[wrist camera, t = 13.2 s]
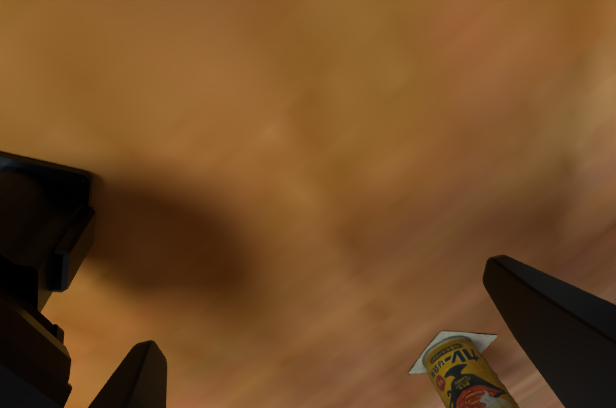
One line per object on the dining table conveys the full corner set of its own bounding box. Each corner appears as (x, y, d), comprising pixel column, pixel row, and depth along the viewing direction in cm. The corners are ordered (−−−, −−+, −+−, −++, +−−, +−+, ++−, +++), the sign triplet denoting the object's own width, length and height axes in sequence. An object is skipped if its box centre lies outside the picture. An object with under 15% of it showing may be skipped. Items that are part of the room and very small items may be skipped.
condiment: (439, 329, 34) (525, 465, 24) (497, 333, 37) (595, 456, 27) (406, 371, 38) (471, 506, 28) (462, 372, 40) (538, 494, 30)
